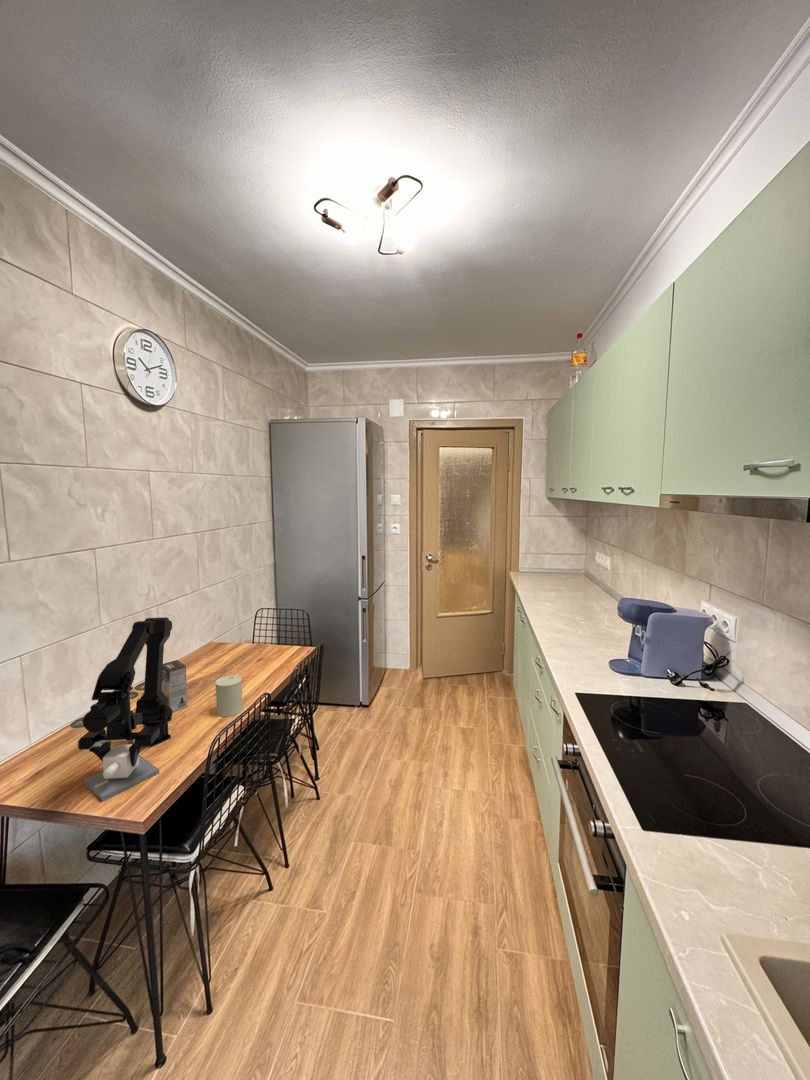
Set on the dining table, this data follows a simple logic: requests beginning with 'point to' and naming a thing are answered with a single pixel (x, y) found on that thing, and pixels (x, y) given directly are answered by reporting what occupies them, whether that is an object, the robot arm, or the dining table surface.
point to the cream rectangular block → (118, 762)
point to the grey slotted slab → (120, 780)
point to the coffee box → (175, 685)
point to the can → (229, 695)
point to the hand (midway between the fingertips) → (121, 766)
